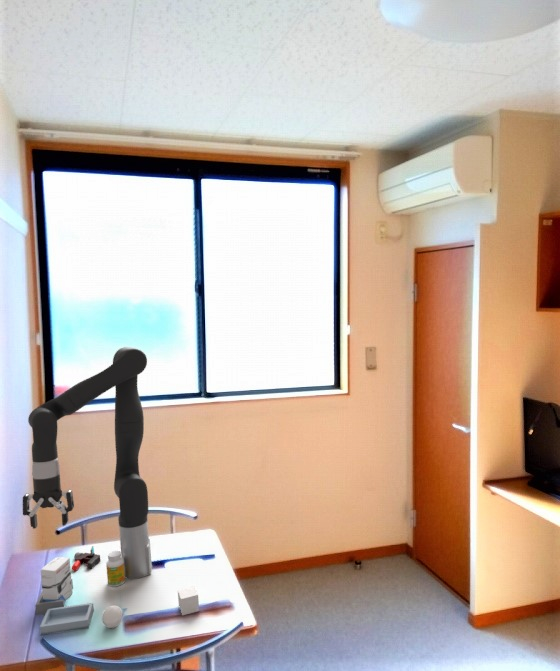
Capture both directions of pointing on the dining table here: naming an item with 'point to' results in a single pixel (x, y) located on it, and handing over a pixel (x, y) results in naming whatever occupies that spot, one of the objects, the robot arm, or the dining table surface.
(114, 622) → the white ball
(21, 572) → the dining table surface
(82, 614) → the tray
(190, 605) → the white cube
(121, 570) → the supplement bottle
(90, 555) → the toy gun
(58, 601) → the cradle
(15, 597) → the dining table surface
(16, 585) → the dining table surface
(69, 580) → the ink box
